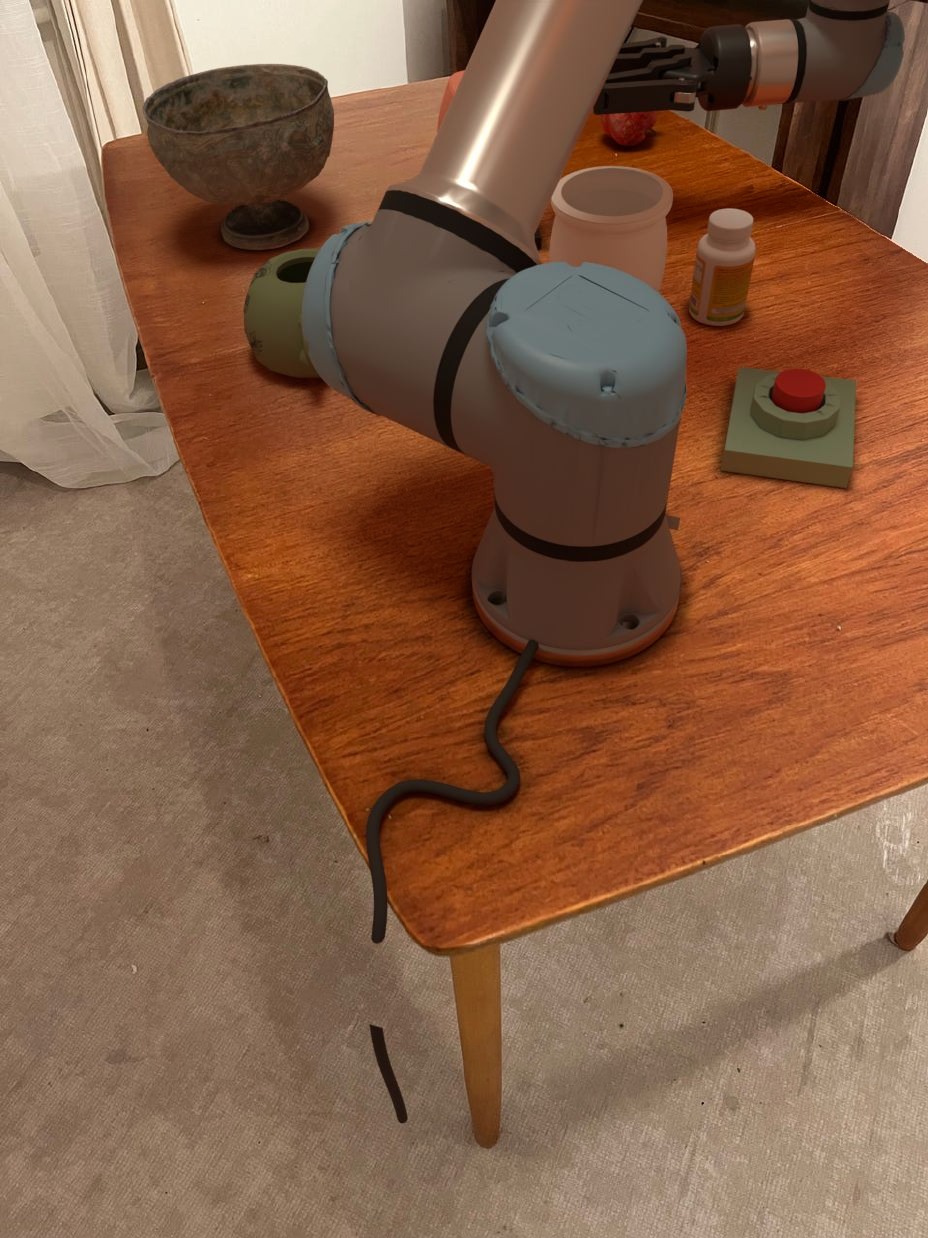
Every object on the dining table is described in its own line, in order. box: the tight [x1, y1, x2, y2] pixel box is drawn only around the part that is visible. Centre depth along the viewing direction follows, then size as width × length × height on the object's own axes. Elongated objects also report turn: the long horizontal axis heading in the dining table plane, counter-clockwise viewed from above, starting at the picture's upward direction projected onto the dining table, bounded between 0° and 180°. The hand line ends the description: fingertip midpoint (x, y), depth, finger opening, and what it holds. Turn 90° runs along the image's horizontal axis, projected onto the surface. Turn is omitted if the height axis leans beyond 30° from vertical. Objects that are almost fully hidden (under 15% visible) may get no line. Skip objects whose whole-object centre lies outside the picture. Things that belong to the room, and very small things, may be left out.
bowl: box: [142, 63, 335, 251], centre depth 107 cm, size 20×19×15 cm
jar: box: [548, 165, 674, 293], centre depth 88 cm, size 11×10×15 cm
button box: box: [720, 366, 857, 489], centre depth 82 cm, size 12×10×4 cm
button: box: [772, 367, 826, 414], centre depth 81 cm, size 4×4×2 cm
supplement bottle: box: [688, 207, 757, 327], centre depth 93 cm, size 5×5×10 cm
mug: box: [243, 248, 322, 379], centre depth 92 cm, size 16×13×9 cm
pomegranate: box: [600, 111, 658, 147], centre depth 122 cm, size 7×7×10 cm
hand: (513, 86), depth 99 cm, fingers closed on lock lever, 4 cm apart
